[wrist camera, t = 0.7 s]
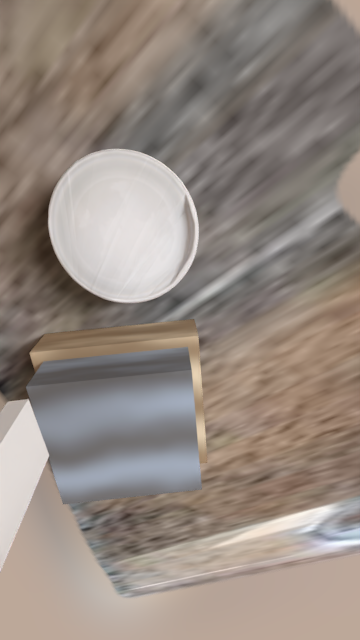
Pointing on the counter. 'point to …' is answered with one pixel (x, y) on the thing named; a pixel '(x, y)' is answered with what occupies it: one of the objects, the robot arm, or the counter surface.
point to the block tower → (121, 409)
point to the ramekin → (123, 225)
